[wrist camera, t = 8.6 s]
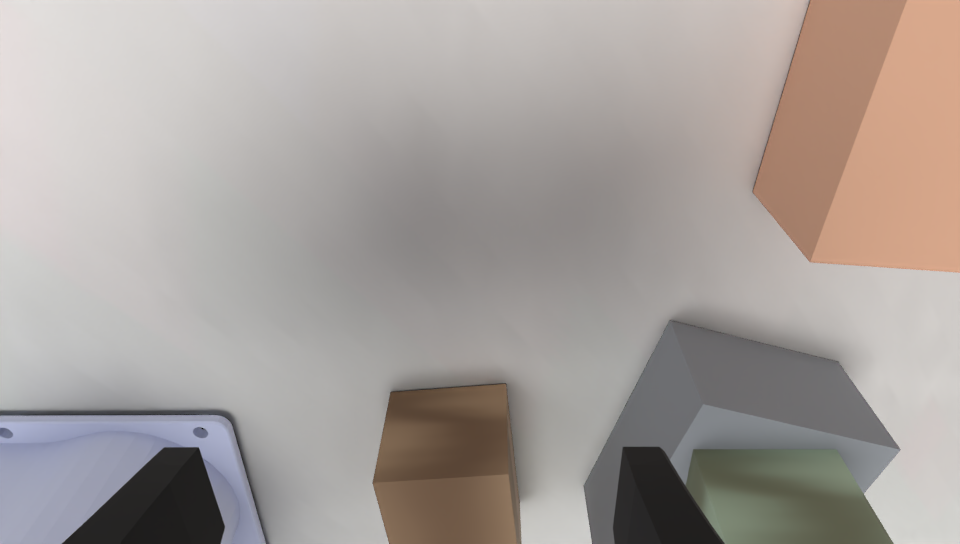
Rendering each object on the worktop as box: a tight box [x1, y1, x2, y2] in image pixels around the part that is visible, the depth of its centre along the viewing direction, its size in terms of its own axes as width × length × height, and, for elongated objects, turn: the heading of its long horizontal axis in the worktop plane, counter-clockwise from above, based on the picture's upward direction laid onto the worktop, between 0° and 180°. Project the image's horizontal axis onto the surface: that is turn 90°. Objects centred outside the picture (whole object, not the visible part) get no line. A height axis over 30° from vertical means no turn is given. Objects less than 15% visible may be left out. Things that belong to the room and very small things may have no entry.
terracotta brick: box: [753, 0, 960, 273], centre depth 16 cm, size 4×6×4 cm, turn 176°
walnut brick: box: [373, 384, 521, 544], centre depth 23 cm, size 4×6×4 cm, turn 6°
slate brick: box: [584, 320, 900, 544], centre depth 22 cm, size 6×8×4 cm
